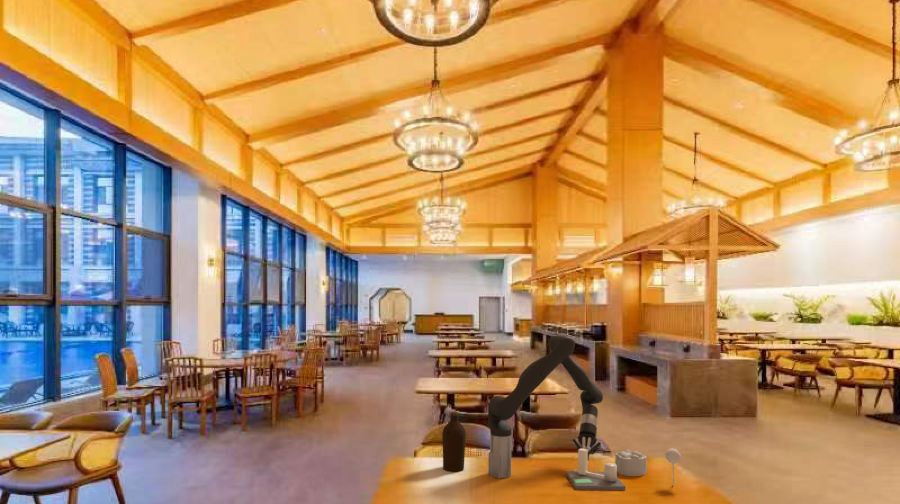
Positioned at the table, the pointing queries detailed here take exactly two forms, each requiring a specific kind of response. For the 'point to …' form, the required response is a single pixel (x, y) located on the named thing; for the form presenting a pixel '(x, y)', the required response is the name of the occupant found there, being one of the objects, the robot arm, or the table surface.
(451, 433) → the olive oil
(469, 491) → the table surface
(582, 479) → the green band
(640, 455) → the lumpy-topped squat cylinder
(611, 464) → the beige u-shaped piece
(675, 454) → the lollipop
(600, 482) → the board
